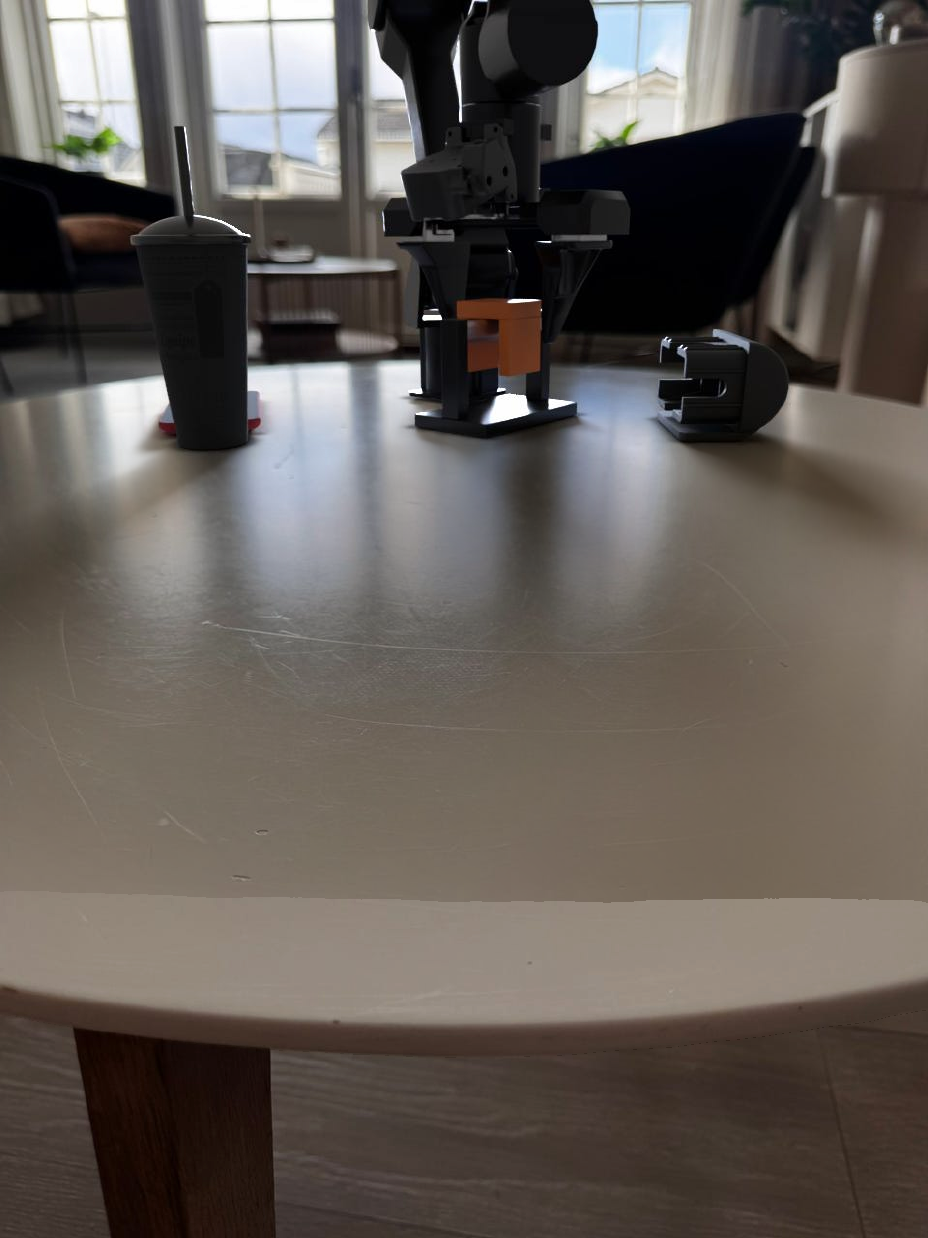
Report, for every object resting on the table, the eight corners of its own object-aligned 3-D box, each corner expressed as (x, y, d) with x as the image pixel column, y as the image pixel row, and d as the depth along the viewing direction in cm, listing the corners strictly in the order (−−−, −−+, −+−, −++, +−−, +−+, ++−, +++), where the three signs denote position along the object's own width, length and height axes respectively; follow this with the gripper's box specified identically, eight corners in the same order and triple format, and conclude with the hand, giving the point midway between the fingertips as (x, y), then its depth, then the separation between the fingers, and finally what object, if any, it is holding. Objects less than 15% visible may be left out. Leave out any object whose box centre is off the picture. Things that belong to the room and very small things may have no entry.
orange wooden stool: (457, 371, 72) (456, 300, 70) (489, 366, 74) (489, 298, 72) (509, 376, 69) (509, 302, 67) (540, 370, 71) (541, 299, 69)
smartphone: (259, 390, 82) (260, 418, 68) (260, 400, 82) (261, 431, 69) (173, 393, 81) (157, 423, 67) (174, 403, 81) (158, 435, 67)
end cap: (782, 442, 64) (795, 342, 62) (681, 443, 64) (689, 342, 62) (743, 416, 74) (753, 328, 71) (654, 417, 74) (660, 328, 71)
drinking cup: (287, 435, 68) (263, 129, 60) (231, 457, 61) (196, 116, 54) (198, 429, 70) (164, 134, 63) (135, 450, 64) (88, 122, 56)
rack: (414, 427, 71) (411, 317, 68) (508, 405, 79) (509, 307, 76) (486, 438, 67) (486, 322, 64) (577, 414, 75) (581, 311, 72)
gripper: (323, 108, 64) (337, 341, 70) (544, 80, 53) (538, 359, 59) (429, 122, 72) (433, 330, 78) (640, 99, 61) (626, 343, 67)
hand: (499, 339), depth 71 cm, fingers open, 9 cm apart
